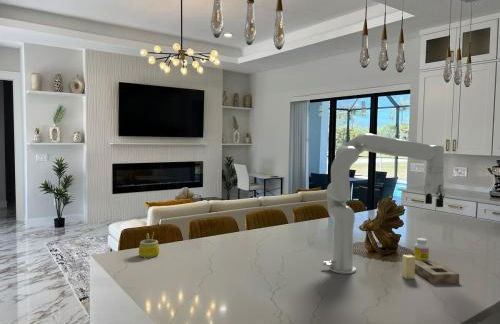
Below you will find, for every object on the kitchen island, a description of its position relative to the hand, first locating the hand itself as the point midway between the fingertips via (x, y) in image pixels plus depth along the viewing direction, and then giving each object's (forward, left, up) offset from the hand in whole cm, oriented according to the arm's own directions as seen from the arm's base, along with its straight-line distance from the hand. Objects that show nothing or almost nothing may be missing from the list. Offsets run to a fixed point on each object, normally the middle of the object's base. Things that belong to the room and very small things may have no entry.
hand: (433, 205), depth 186 cm
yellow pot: (-143, +29, -32) cm, 149 cm away
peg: (-18, -12, -31) cm, 38 cm away
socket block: (-5, -10, -31) cm, 33 cm away
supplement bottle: (-2, +7, -31) cm, 32 cm away
